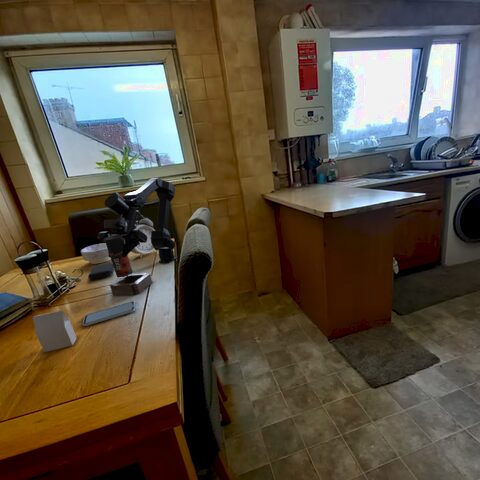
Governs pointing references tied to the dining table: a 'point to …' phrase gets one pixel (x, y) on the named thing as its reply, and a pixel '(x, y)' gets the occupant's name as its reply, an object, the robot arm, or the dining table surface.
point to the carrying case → (101, 271)
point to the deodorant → (118, 255)
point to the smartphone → (109, 313)
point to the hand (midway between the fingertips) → (116, 257)
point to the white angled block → (54, 330)
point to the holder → (131, 284)
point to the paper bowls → (96, 253)
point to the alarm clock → (147, 229)
